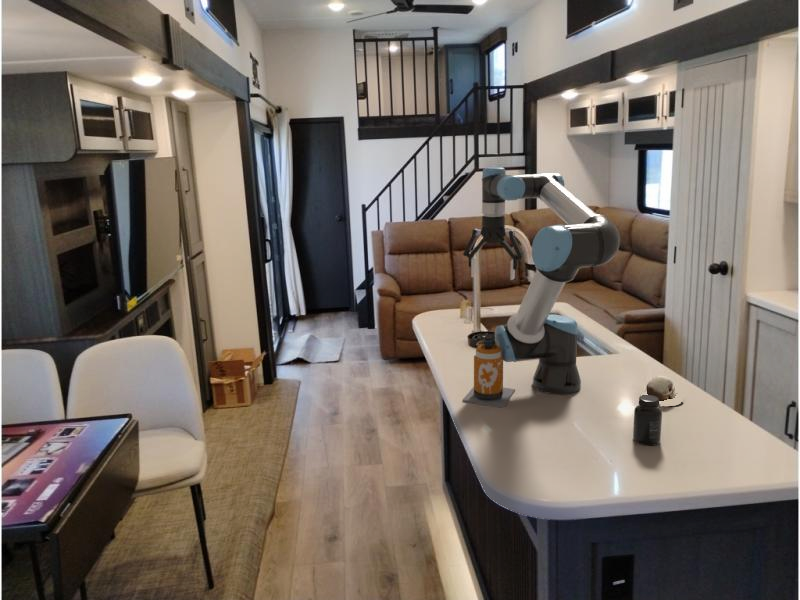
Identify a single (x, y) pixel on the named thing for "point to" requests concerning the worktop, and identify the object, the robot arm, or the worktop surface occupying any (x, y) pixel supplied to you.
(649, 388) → the skull
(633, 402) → the worktop surface
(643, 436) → the supplement bottle
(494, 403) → the mat
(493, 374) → the canister
